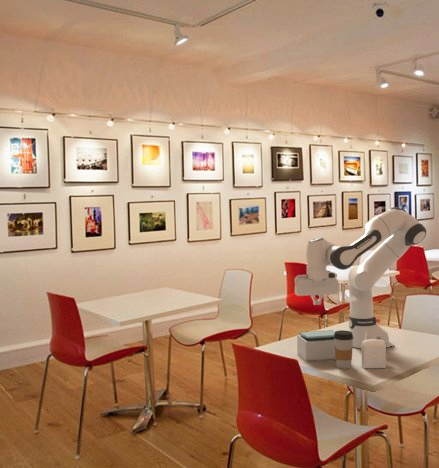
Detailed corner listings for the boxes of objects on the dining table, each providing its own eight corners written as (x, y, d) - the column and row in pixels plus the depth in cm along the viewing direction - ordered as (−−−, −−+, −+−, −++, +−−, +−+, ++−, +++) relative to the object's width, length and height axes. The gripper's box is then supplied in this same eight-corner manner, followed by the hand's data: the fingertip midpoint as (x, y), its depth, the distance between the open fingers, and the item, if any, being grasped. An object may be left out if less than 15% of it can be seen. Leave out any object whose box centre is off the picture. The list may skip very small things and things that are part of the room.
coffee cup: (353, 370, 227) (353, 335, 226) (333, 369, 228) (333, 334, 227) (353, 364, 235) (352, 330, 234) (333, 363, 236) (333, 329, 235)
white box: (333, 351, 254) (333, 332, 254) (343, 358, 242) (343, 339, 242) (297, 353, 251) (297, 335, 251) (305, 361, 239) (305, 341, 239)
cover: (332, 332, 254) (331, 330, 254) (342, 336, 241) (342, 334, 241) (298, 334, 251) (298, 332, 251) (307, 338, 239) (307, 336, 239)
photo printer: (362, 369, 228) (362, 340, 227) (360, 365, 232) (360, 337, 231) (387, 369, 227) (387, 340, 226) (384, 365, 231) (384, 337, 230)
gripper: (296, 276, 236) (297, 307, 237) (340, 274, 239) (340, 304, 240) (292, 274, 242) (292, 304, 243) (335, 272, 246) (335, 301, 246)
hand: (316, 304), depth 242 cm, fingers closed
